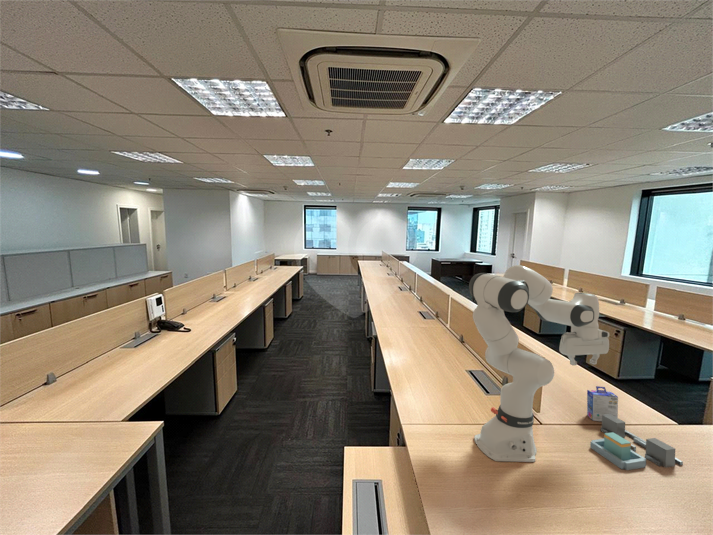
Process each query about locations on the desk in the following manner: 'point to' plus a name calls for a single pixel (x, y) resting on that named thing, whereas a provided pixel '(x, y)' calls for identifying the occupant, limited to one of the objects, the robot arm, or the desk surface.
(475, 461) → the desk surface
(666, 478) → the desk surface
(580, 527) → the desk surface
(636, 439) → the clip rail
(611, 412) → the ink cartridge box
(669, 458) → the block
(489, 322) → the robot arm
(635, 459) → the tray
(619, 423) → the block
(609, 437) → the block
